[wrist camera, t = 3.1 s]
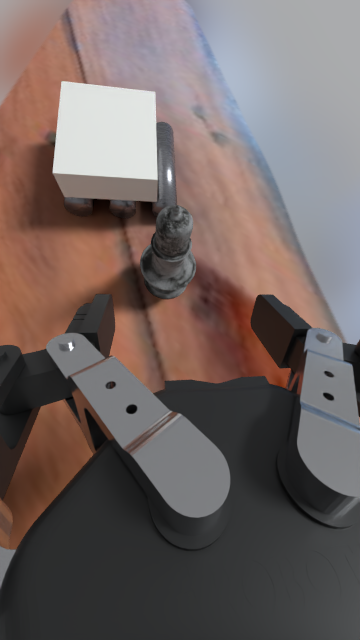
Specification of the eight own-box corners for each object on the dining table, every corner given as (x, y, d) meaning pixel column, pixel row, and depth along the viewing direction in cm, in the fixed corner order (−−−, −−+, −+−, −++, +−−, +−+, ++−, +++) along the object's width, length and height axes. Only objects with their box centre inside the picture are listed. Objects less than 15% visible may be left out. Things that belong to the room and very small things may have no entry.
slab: (64, 196, 24) (52, 173, 21) (71, 112, 27) (61, 81, 24) (156, 201, 26) (157, 179, 23) (154, 120, 28) (155, 92, 25)
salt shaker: (199, 285, 27) (235, 220, 16) (159, 310, 26) (165, 259, 14) (172, 247, 28) (187, 158, 16) (131, 270, 26) (116, 190, 15)
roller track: (69, 215, 27) (59, 197, 24) (75, 137, 30) (67, 112, 27) (175, 220, 29) (178, 203, 26) (172, 146, 31) (174, 123, 29)
